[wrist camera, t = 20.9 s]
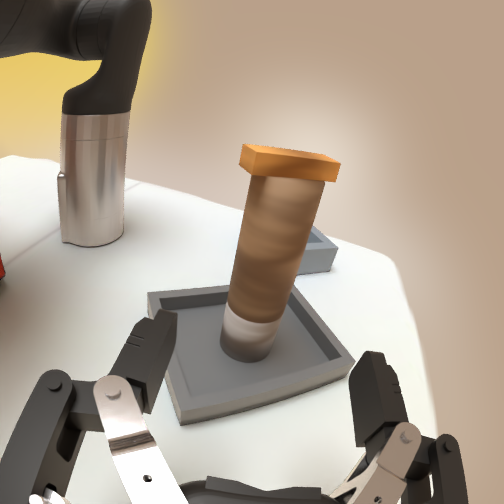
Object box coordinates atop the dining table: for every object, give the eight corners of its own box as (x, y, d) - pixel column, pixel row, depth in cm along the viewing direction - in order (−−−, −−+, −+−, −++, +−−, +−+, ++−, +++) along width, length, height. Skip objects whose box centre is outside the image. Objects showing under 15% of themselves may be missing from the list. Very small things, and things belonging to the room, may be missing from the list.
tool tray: (180, 425, 19) (180, 411, 18) (147, 311, 29) (147, 292, 28) (344, 377, 26) (355, 361, 25) (283, 295, 36) (288, 278, 35)
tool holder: (270, 277, 39) (277, 251, 37) (241, 238, 46) (246, 215, 44) (329, 271, 43) (338, 247, 41) (295, 236, 50) (301, 215, 48)
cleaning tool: (222, 369, 24) (267, 158, 15) (204, 329, 27) (234, 139, 19) (286, 354, 27) (354, 170, 18) (264, 319, 30) (313, 149, 22)
